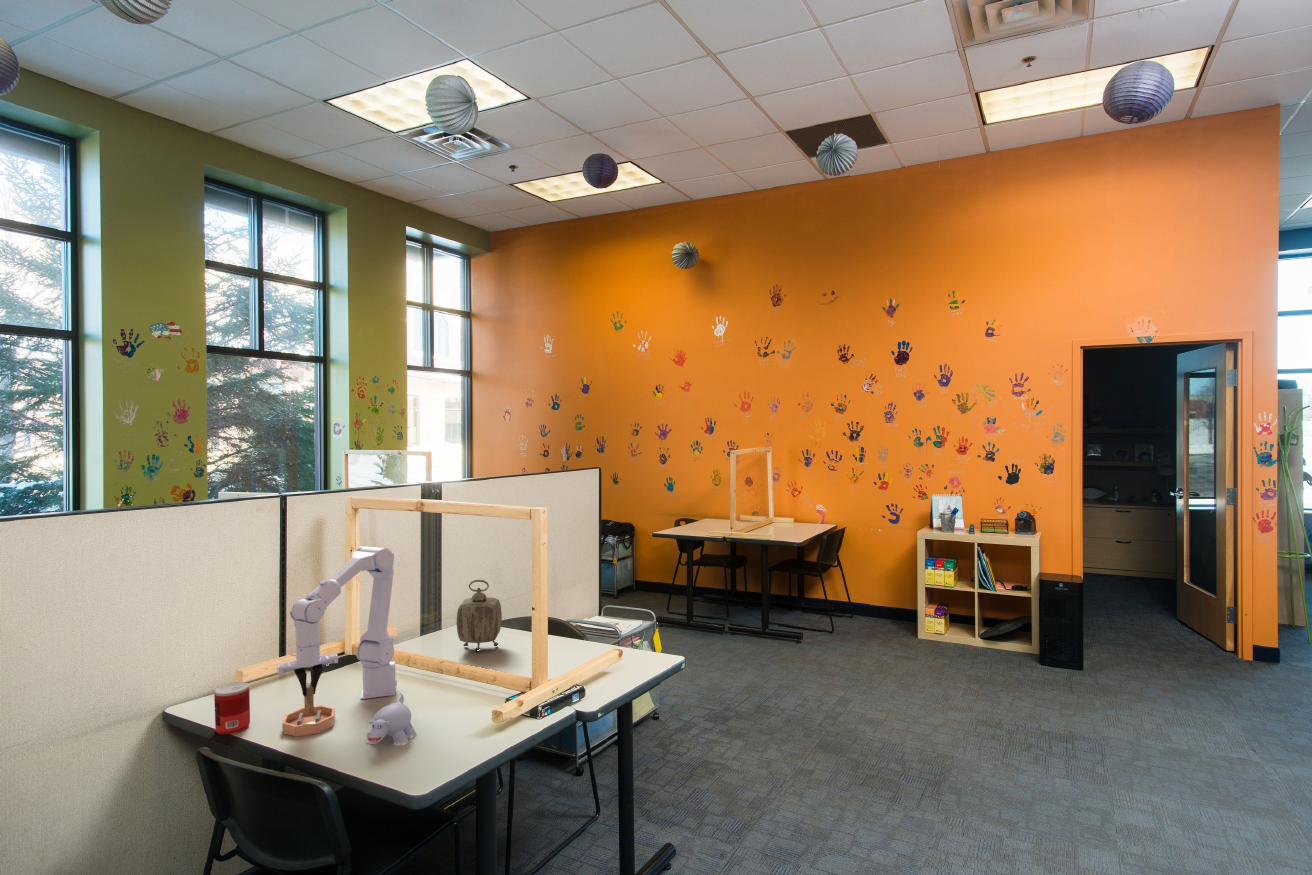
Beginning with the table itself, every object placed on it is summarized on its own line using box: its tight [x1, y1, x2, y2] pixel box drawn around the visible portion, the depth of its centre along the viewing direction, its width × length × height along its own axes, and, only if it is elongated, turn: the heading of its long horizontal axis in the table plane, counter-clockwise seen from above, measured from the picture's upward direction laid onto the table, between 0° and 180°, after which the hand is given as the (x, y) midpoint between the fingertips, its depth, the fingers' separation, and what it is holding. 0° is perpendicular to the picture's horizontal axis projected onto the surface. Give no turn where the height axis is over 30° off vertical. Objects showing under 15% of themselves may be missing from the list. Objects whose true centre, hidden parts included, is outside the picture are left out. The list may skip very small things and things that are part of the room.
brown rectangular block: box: [303, 682, 315, 714], centre depth 186 cm, size 2×4×7 cm, turn 37°
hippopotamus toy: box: [365, 693, 417, 747], centre depth 177 cm, size 11×15×10 cm
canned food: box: [213, 682, 251, 735], centre depth 185 cm, size 8×8×11 cm
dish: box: [281, 705, 336, 737], centre depth 186 cm, size 12×12×3 cm
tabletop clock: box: [456, 579, 503, 650], centre depth 245 cm, size 14×9×25 cm, turn 93°
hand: (308, 694), depth 186 cm, fingers closed on brown rectangular block, 1 cm apart
